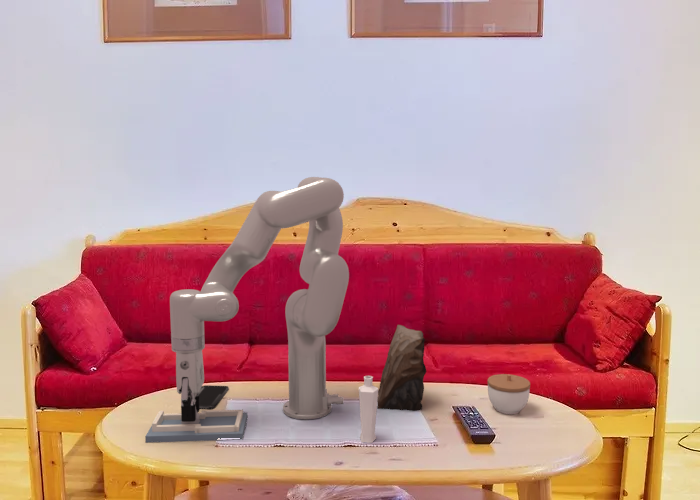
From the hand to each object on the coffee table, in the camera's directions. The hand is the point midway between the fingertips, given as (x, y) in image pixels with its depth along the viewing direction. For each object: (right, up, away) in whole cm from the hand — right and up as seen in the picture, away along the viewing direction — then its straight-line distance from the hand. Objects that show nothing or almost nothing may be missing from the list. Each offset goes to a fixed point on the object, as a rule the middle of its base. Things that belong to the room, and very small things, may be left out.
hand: (190, 415), depth 145 cm
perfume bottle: (+42, -5, -4) cm, 43 cm away
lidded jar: (+79, -2, +13) cm, 80 cm away
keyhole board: (+2, -4, +1) cm, 4 cm away
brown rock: (+51, -2, +17) cm, 54 cm away
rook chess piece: (0, -2, 0) cm, 2 cm away
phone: (-1, -1, +20) cm, 20 cm away
